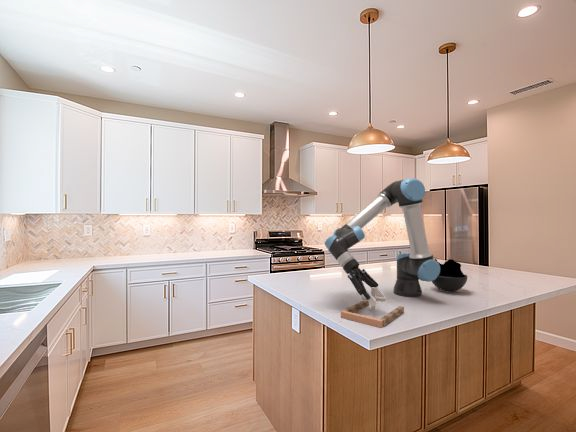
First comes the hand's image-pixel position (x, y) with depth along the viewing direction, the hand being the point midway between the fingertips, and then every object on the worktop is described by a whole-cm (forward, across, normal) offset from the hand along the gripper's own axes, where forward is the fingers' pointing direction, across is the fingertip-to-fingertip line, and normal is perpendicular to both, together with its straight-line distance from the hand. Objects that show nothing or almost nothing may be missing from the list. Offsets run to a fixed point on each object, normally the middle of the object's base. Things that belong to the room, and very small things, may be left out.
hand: (379, 302), depth 131 cm
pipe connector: (+1, 0, -5) cm, 5 cm away
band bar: (+2, +13, -6) cm, 14 cm away
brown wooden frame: (+2, +1, -6) cm, 6 cm away
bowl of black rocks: (+13, -68, +5) cm, 70 cm away
